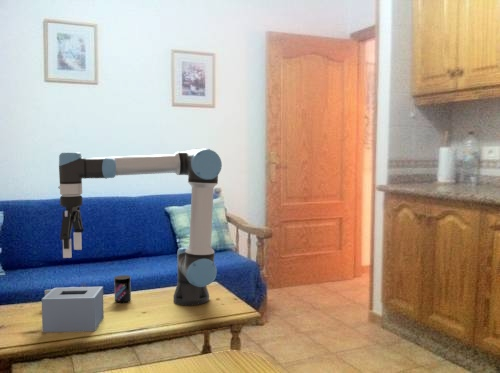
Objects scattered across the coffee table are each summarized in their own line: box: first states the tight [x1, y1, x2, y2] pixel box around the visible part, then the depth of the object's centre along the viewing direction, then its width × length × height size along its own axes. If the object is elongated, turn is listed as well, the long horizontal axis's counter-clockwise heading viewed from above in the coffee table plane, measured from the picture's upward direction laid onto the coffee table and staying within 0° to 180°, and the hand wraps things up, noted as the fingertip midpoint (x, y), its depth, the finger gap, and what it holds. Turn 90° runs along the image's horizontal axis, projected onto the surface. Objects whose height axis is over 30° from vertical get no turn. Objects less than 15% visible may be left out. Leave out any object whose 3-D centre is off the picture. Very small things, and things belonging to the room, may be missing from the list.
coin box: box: [41, 286, 105, 333], centre depth 173 cm, size 18×14×12 cm
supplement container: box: [113, 274, 132, 304], centre depth 201 cm, size 7×7×10 cm
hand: (72, 253), depth 172 cm, fingers open, 13 cm apart
